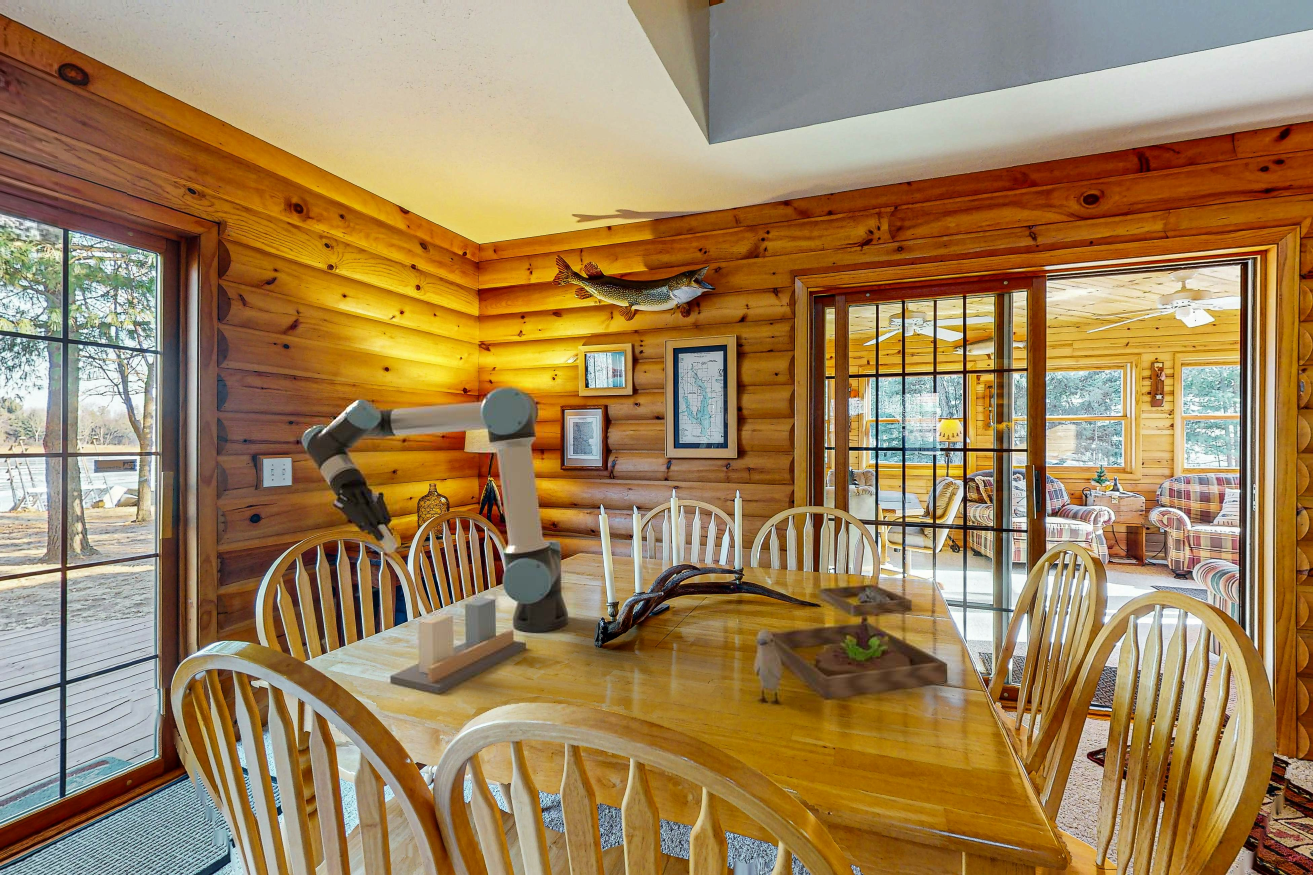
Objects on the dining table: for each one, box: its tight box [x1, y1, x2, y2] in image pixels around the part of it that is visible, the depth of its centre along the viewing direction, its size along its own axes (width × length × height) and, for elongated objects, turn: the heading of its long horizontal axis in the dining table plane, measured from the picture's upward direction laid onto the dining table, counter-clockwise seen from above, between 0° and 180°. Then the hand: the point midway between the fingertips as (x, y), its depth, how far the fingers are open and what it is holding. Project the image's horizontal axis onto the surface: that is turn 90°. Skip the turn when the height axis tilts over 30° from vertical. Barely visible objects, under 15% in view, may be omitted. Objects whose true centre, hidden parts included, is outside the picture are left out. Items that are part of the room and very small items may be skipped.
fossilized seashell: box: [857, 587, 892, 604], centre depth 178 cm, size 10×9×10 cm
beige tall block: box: [417, 613, 454, 673], centre depth 131 cm, size 4×6×11 cm, turn 154°
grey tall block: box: [464, 597, 497, 650], centre depth 143 cm, size 4×6×11 cm, turn 154°
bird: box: [753, 628, 783, 706], centre depth 115 cm, size 5×14×15 cm, turn 158°
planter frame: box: [769, 621, 948, 701], centre depth 133 cm, size 28×28×4 cm
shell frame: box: [818, 583, 912, 617], centre depth 179 cm, size 19×19×3 cm
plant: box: [814, 615, 912, 677], centre depth 132 cm, size 20×20×11 cm
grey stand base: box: [389, 629, 527, 695], centre depth 137 cm, size 14×28×4 cm, turn 154°
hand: (392, 548), depth 141 cm, fingers closed
